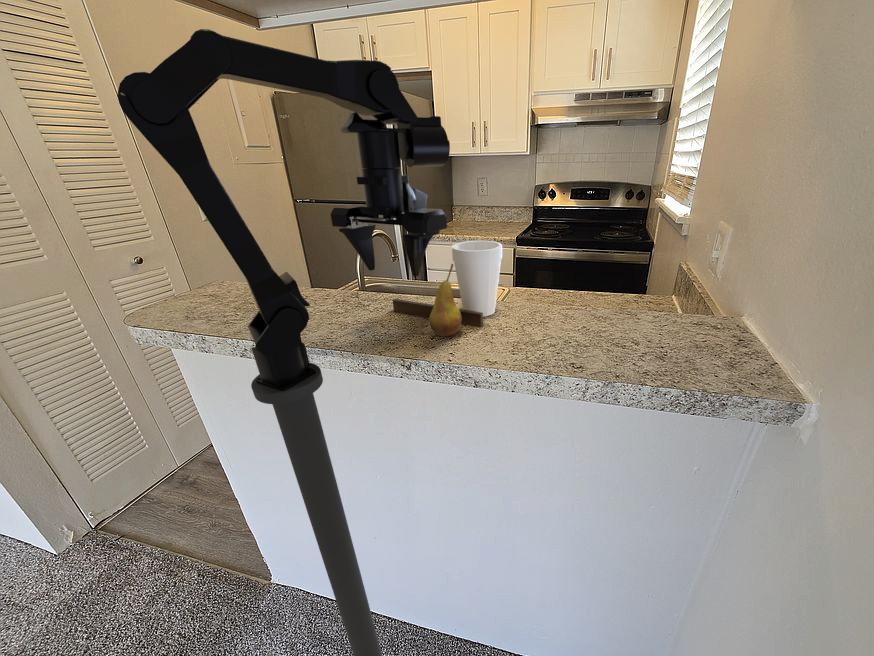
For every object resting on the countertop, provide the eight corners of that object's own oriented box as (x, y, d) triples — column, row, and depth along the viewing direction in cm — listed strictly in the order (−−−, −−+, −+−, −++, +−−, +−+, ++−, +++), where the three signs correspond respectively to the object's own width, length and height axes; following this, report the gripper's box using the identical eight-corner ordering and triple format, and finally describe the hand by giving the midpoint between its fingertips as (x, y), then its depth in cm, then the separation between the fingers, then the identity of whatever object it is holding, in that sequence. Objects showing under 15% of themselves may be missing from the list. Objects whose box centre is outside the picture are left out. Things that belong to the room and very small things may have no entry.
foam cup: (481, 300, 87) (479, 238, 81) (512, 310, 81) (512, 244, 75) (446, 311, 81) (441, 246, 75) (476, 324, 75) (474, 254, 69)
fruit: (428, 330, 73) (422, 264, 68) (459, 326, 74) (456, 261, 69) (432, 342, 69) (425, 273, 63) (465, 338, 70) (462, 269, 64)
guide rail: (481, 327, 74) (480, 314, 73) (393, 311, 82) (392, 300, 81) (483, 325, 75) (483, 312, 73) (396, 310, 83) (395, 298, 82)
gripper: (463, 166, 62) (466, 267, 69) (370, 166, 70) (381, 257, 77) (421, 169, 53) (429, 285, 60) (319, 169, 61) (338, 271, 68)
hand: (393, 273), depth 67 cm, fingers open, 9 cm apart
